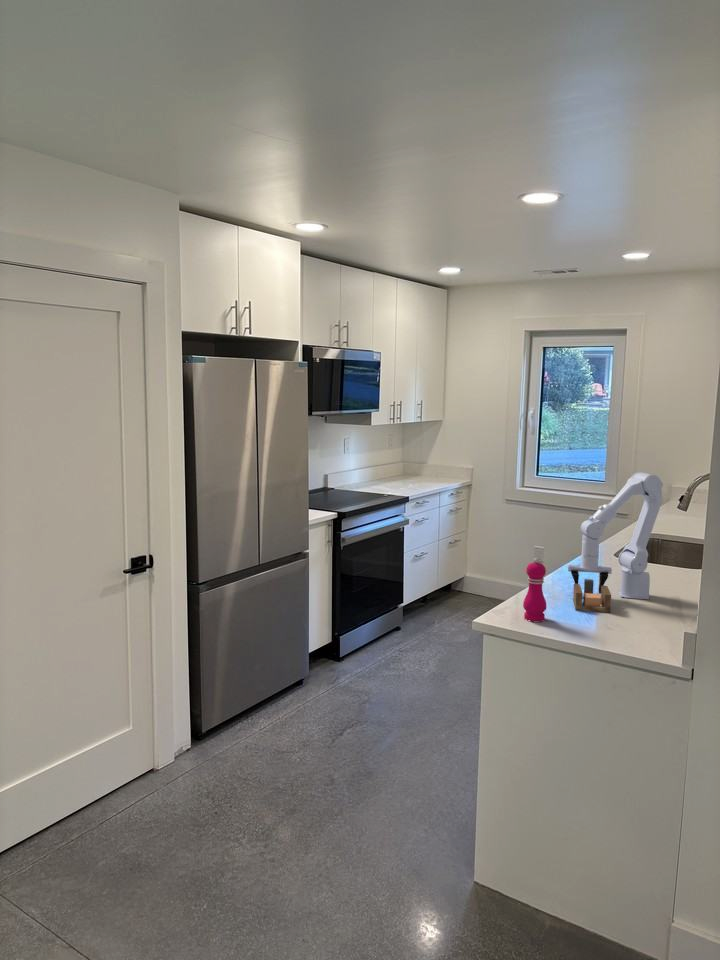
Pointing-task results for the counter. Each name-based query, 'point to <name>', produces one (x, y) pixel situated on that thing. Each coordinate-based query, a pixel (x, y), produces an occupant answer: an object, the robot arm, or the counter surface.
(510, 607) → the counter surface
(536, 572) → the pepper mill
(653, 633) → the counter surface
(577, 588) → the brown wooden u-shaped piece
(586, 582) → the grey and tan dumbbell
